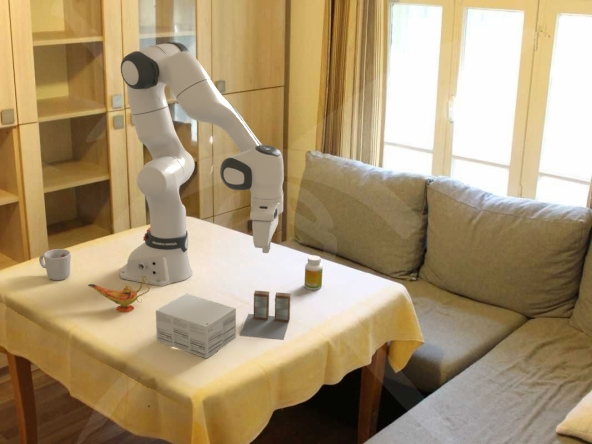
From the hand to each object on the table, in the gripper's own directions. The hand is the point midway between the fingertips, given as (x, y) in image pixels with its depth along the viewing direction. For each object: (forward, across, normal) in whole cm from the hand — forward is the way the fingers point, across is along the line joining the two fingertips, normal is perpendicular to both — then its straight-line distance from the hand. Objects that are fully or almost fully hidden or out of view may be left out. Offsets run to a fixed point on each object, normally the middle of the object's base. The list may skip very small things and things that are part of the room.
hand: (266, 251), depth 211 cm
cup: (+18, -10, -68) cm, 71 cm away
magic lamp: (+18, +7, -41) cm, 46 cm away
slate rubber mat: (+18, +10, +2) cm, 21 cm away
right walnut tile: (+18, +6, +6) cm, 20 cm away
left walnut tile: (+18, +6, 0) cm, 19 cm away
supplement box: (+19, +20, -15) cm, 32 cm away
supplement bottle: (+19, -19, +12) cm, 29 cm away
